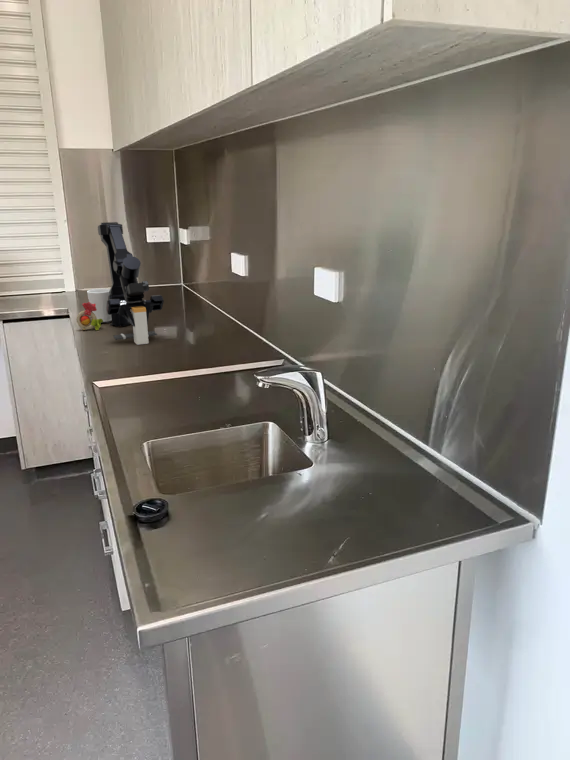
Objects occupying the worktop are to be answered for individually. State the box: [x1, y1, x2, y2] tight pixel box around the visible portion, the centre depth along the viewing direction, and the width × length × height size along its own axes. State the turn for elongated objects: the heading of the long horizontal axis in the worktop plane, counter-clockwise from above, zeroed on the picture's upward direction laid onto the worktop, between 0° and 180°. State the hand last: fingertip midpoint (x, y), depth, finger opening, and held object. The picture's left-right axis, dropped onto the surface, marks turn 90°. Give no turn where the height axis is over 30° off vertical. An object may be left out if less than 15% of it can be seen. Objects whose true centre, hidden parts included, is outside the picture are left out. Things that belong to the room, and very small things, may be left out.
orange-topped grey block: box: [130, 306, 150, 345], centre depth 201 cm, size 4×4×12 cm
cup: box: [86, 287, 112, 324], centre depth 234 cm, size 10×10×13 cm
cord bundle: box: [113, 330, 158, 341], centre depth 212 cm, size 15×5×2 cm, turn 116°
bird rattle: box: [76, 301, 104, 331], centre depth 222 cm, size 6×11×9 cm
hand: (140, 325), depth 199 cm, fingers closed on orange-topped grey block, 4 cm apart
